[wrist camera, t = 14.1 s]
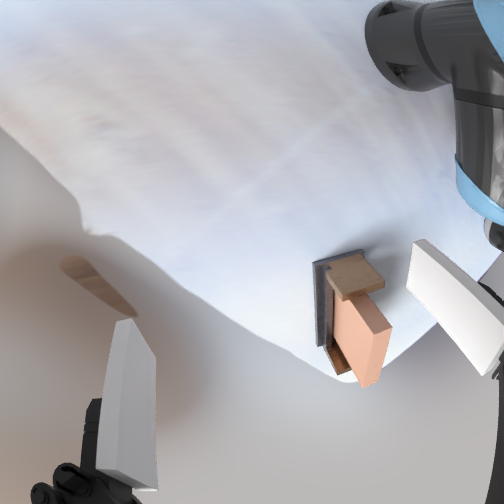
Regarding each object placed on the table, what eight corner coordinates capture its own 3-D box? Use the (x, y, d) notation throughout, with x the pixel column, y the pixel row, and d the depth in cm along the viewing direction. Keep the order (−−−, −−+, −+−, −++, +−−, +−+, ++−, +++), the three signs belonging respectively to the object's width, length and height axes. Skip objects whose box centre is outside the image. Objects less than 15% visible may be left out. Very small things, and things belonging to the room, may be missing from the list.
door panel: (348, 271, 46) (392, 327, 34) (345, 327, 54) (377, 381, 42) (332, 276, 46) (373, 334, 34) (331, 332, 53) (362, 388, 41)
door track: (361, 248, 46) (390, 278, 38) (355, 329, 56) (374, 360, 49) (312, 262, 45) (336, 297, 37) (315, 343, 55) (332, 377, 48)
